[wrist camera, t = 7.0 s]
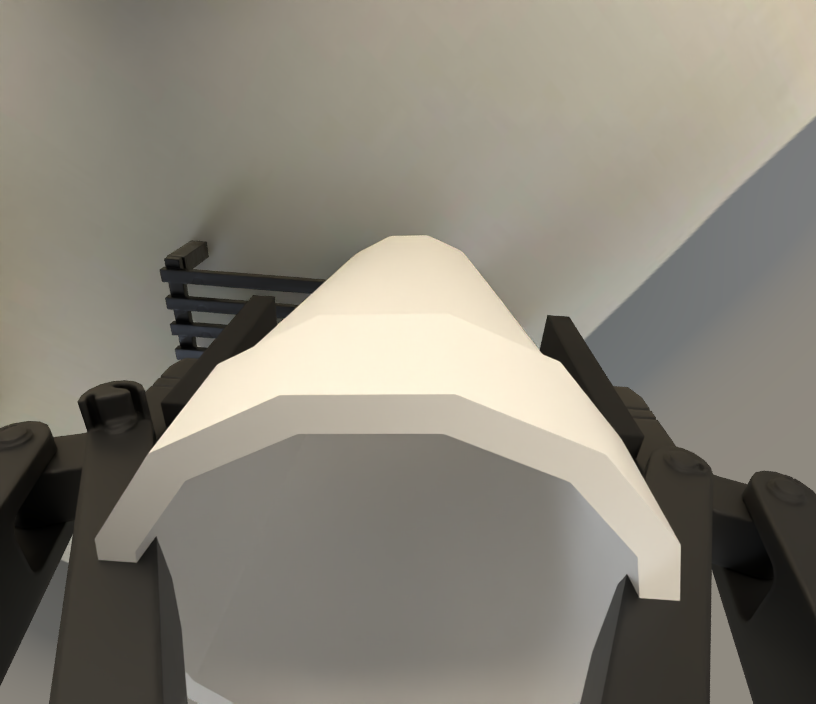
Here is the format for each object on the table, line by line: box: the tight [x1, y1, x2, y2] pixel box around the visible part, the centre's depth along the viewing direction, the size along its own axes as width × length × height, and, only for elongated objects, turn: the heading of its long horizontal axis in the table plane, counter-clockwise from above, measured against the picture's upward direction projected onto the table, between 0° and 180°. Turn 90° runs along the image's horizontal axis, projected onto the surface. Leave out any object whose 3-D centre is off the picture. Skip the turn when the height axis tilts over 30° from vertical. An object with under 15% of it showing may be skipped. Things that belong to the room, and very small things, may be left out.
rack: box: [160, 241, 326, 360], centre depth 39 cm, size 24×14×5 cm, turn 176°
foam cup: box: [95, 235, 681, 704], centre depth 14 cm, size 10×9×13 cm
